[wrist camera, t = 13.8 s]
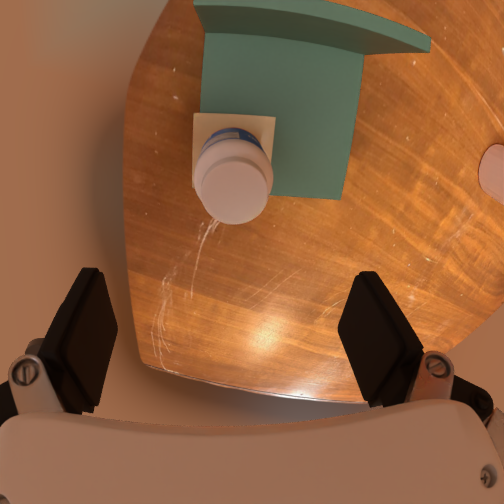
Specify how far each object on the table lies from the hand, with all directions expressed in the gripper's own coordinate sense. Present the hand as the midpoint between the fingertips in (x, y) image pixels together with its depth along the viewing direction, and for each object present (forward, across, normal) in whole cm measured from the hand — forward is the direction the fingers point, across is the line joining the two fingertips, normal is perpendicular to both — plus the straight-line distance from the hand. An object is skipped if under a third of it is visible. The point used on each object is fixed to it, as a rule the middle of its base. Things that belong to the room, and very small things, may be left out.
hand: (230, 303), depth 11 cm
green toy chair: (+22, -5, -5) cm, 23 cm away
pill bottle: (+18, -1, -1) cm, 18 cm away
